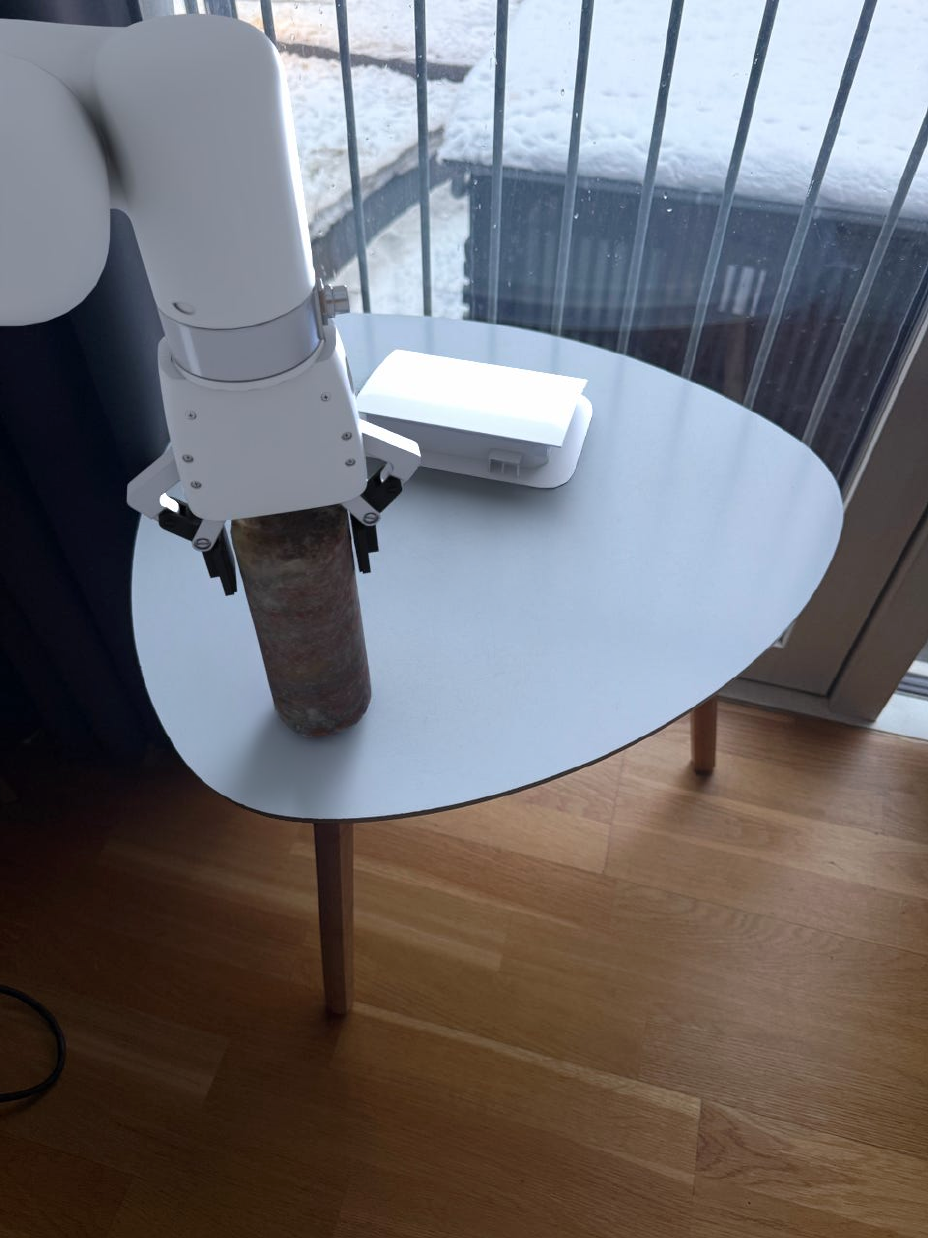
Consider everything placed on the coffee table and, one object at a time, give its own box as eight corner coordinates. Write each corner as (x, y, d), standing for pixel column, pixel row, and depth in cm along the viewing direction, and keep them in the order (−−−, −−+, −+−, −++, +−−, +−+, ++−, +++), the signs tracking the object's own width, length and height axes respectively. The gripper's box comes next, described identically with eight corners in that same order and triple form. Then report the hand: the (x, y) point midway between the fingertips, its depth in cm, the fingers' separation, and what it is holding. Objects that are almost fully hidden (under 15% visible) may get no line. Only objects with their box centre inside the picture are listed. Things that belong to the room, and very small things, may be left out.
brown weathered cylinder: (393, 716, 69) (369, 526, 53) (307, 765, 66) (256, 579, 51) (343, 651, 73) (308, 456, 57) (260, 693, 70) (200, 502, 55)
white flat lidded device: (567, 493, 84) (571, 460, 81) (336, 450, 88) (331, 418, 85) (598, 395, 94) (602, 363, 91) (387, 361, 98) (384, 329, 95)
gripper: (406, 261, 48) (421, 508, 61) (63, 301, 45) (157, 548, 59) (433, 341, 43) (443, 589, 56) (51, 390, 41) (156, 636, 54)
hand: (296, 567), depth 58 cm, fingers open, 7 cm apart
